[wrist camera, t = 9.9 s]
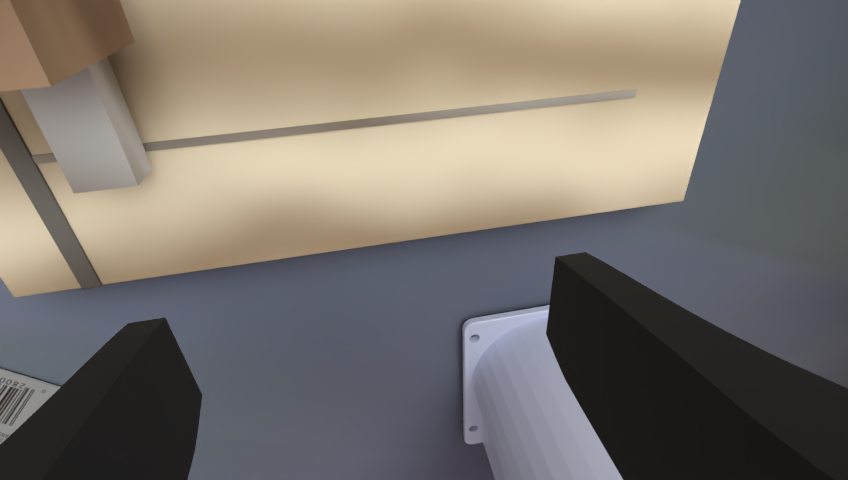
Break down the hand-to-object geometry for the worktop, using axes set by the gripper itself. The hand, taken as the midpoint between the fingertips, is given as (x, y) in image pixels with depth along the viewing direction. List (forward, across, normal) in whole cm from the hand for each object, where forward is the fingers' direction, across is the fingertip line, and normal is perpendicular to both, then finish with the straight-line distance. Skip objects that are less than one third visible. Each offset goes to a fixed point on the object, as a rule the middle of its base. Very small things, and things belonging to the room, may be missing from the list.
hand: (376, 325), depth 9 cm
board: (+9, 0, -3) cm, 10 cm away
